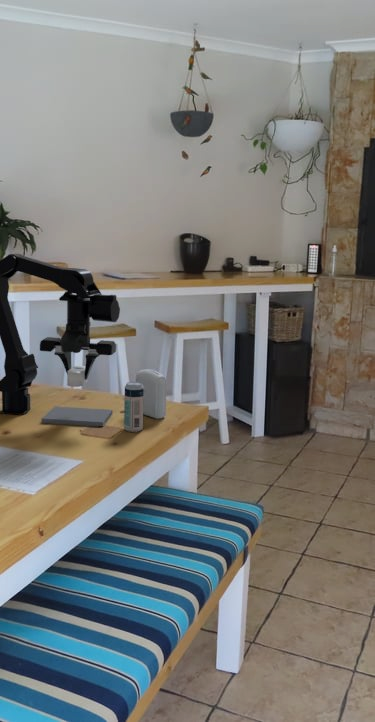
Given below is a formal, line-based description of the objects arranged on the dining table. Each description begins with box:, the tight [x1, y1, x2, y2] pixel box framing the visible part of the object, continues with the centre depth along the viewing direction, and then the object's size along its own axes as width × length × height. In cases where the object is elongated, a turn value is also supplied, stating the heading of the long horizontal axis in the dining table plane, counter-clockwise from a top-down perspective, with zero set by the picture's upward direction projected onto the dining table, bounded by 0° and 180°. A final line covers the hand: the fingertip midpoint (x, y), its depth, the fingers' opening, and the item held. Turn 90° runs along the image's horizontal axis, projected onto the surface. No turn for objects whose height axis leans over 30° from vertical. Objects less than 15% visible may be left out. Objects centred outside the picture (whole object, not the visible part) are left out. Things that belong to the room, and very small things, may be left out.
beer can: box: [123, 381, 144, 433], centre depth 173 cm, size 5×5×12 cm
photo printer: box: [135, 368, 167, 420], centre depth 187 cm, size 10×4×12 cm, turn 39°
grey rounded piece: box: [66, 365, 89, 388], centre depth 181 cm, size 4×11×4 cm, turn 174°
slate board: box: [41, 406, 114, 427], centre depth 182 cm, size 16×12×1 cm
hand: (77, 378), depth 180 cm, fingers closed on grey rounded piece, 4 cm apart
